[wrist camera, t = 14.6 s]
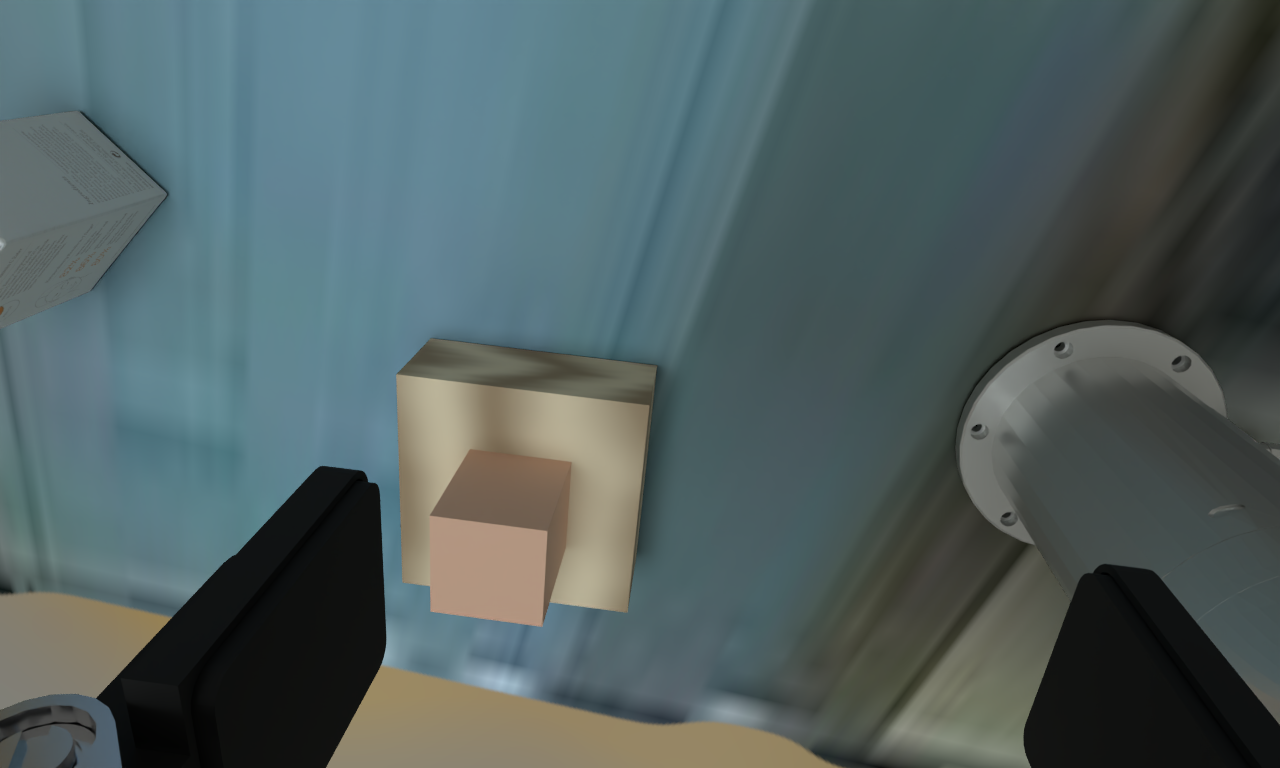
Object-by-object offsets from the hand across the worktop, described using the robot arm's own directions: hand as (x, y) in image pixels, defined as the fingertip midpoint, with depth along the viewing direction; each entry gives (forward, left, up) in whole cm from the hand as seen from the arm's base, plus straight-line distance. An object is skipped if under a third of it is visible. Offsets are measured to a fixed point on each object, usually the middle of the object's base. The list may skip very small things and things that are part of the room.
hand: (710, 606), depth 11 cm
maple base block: (+8, +15, -30) cm, 35 cm away
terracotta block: (+8, +15, -25) cm, 30 cm away
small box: (+32, +4, -31) cm, 44 cm away
